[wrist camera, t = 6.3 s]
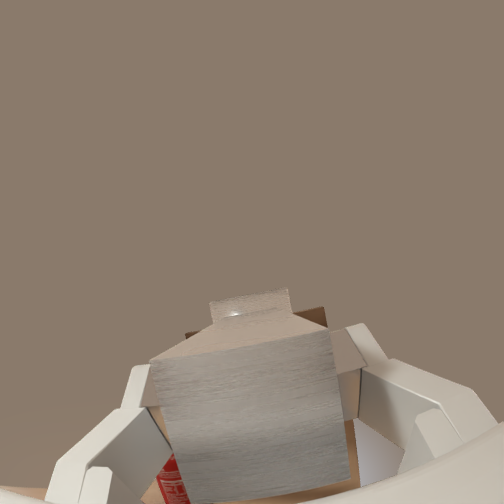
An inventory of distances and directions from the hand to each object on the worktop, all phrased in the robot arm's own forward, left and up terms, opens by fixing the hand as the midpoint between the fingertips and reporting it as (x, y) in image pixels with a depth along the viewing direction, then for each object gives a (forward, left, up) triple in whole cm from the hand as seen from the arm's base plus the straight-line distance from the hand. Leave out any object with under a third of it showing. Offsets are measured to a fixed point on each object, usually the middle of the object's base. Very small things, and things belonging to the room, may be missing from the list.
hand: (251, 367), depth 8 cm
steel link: (0, +6, -2) cm, 6 cm away
